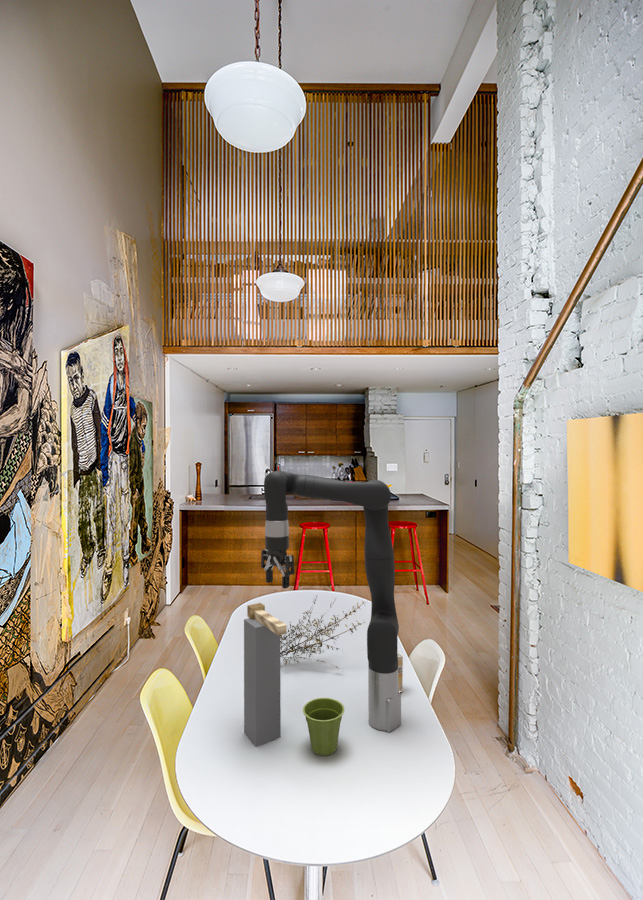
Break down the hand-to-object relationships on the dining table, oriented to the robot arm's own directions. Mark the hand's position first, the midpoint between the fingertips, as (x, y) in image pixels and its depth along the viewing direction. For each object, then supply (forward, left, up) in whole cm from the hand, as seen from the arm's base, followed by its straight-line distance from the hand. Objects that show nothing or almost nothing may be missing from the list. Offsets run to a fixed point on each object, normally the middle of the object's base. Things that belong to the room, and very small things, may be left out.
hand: (277, 585), depth 145 cm
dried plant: (+17, -36, -42) cm, 58 cm away
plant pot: (-21, 0, -42) cm, 47 cm away
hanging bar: (-7, +10, -8) cm, 14 cm away
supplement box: (-15, -38, -42) cm, 59 cm away
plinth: (-4, +9, -42) cm, 43 cm away
